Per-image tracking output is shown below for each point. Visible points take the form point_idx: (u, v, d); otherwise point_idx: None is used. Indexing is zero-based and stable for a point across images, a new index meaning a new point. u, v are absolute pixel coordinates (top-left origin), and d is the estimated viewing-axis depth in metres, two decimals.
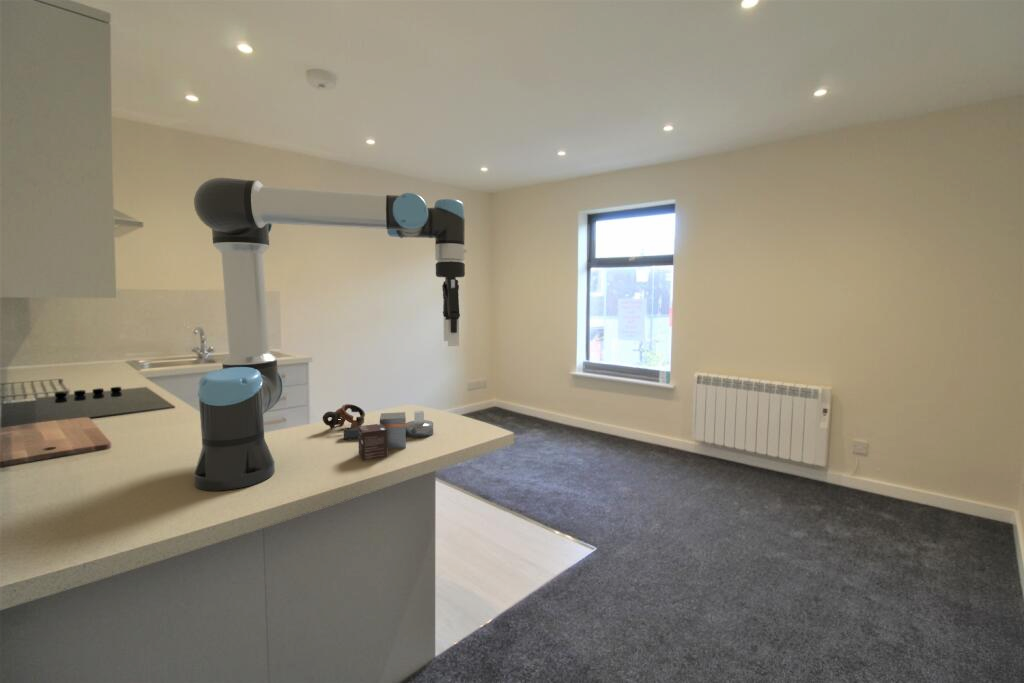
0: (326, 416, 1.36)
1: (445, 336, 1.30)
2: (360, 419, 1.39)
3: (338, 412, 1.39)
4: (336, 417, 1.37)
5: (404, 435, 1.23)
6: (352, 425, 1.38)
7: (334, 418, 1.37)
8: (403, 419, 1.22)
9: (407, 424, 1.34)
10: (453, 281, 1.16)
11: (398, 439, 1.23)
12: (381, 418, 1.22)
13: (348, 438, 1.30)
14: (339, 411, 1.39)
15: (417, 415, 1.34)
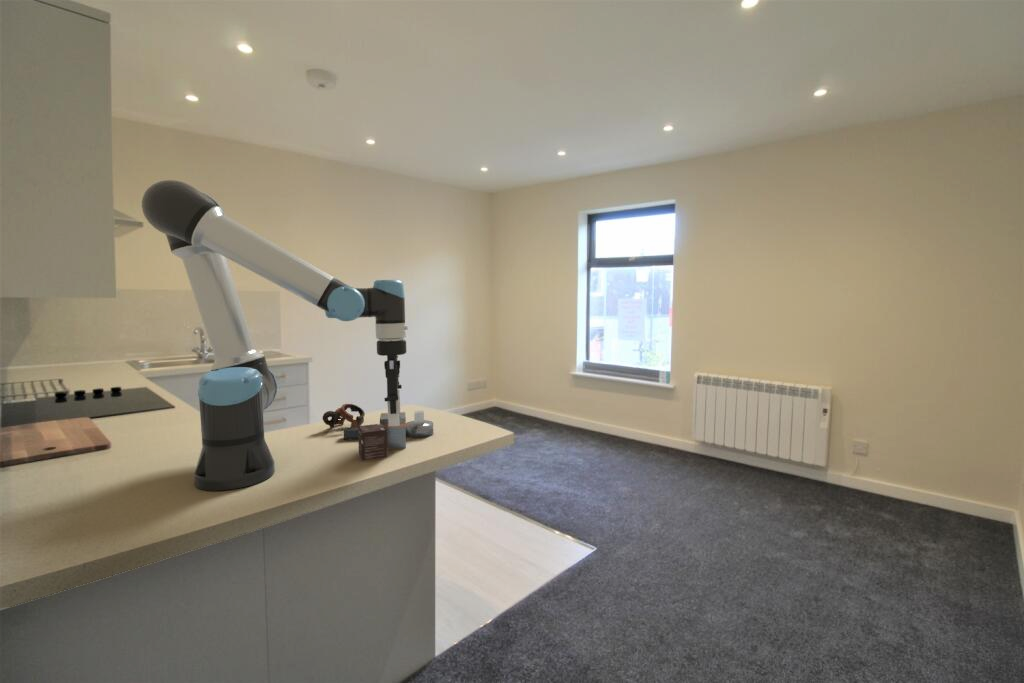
0: (326, 415, 1.37)
1: None
2: (360, 418, 1.40)
3: (338, 411, 1.39)
4: (336, 416, 1.38)
5: (404, 435, 1.23)
6: (352, 424, 1.38)
7: (334, 417, 1.38)
8: (403, 419, 1.22)
9: (407, 424, 1.34)
10: (391, 363, 1.17)
11: (398, 439, 1.23)
12: (381, 418, 1.22)
13: (348, 438, 1.30)
14: (339, 411, 1.39)
15: (417, 415, 1.34)
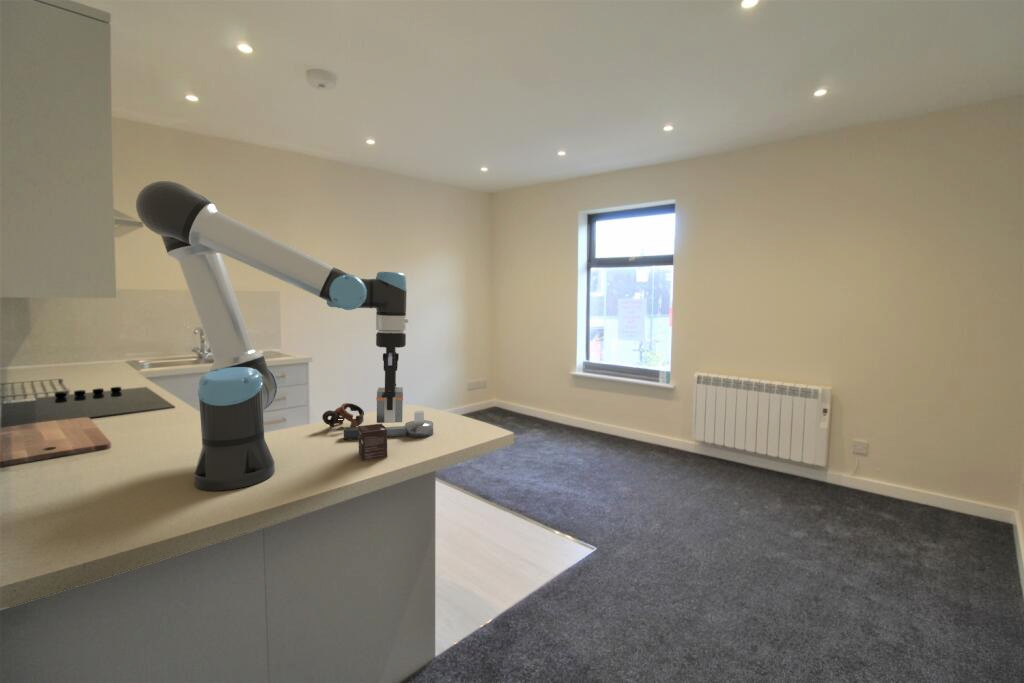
0: (326, 415, 1.38)
1: None
2: (360, 418, 1.41)
3: (338, 411, 1.40)
4: (336, 416, 1.39)
5: (401, 409, 1.22)
6: (352, 424, 1.39)
7: (334, 417, 1.39)
8: (400, 393, 1.22)
9: (407, 424, 1.34)
10: (390, 360, 1.17)
11: (395, 413, 1.22)
12: (378, 391, 1.21)
13: (348, 438, 1.30)
14: (339, 410, 1.40)
15: (417, 415, 1.34)
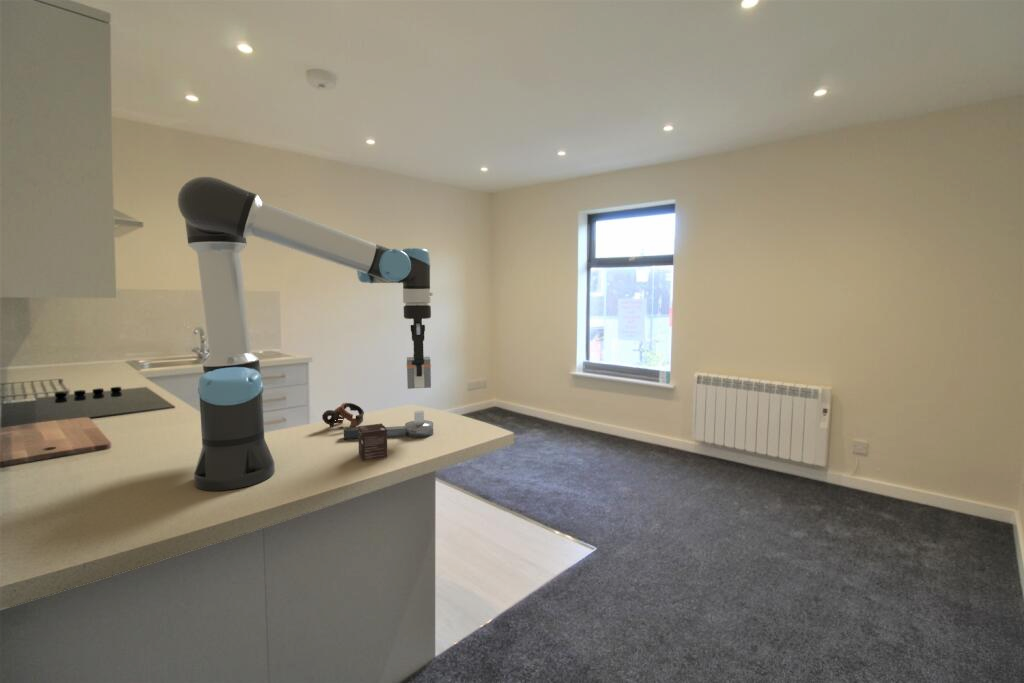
0: (326, 415, 1.38)
1: None
2: (359, 417, 1.41)
3: (337, 411, 1.40)
4: (336, 415, 1.39)
5: (429, 375, 1.32)
6: (352, 423, 1.40)
7: (334, 416, 1.39)
8: (428, 360, 1.31)
9: (407, 424, 1.34)
10: (418, 329, 1.26)
11: (424, 379, 1.32)
12: (408, 359, 1.31)
13: (348, 438, 1.30)
14: (338, 410, 1.41)
15: (417, 415, 1.34)
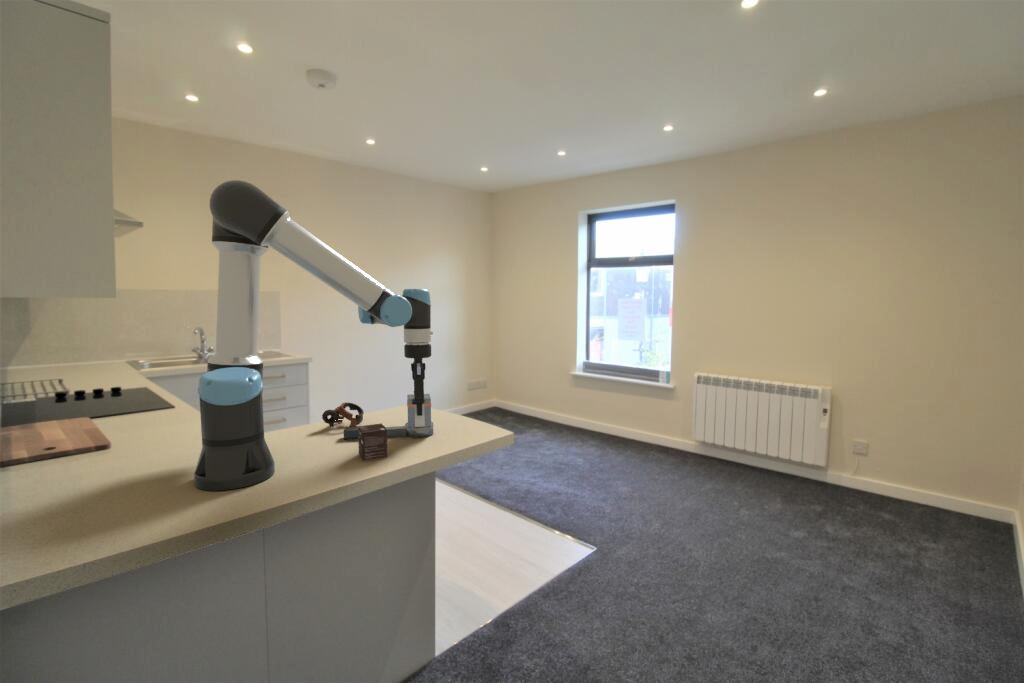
0: (326, 414, 1.39)
1: None
2: (359, 417, 1.42)
3: (337, 410, 1.41)
4: (335, 415, 1.40)
5: (429, 414, 1.33)
6: (351, 423, 1.40)
7: (333, 416, 1.40)
8: (429, 399, 1.32)
9: (407, 424, 1.34)
10: (419, 370, 1.28)
11: None
12: (408, 398, 1.32)
13: (348, 438, 1.30)
14: (338, 409, 1.41)
15: None
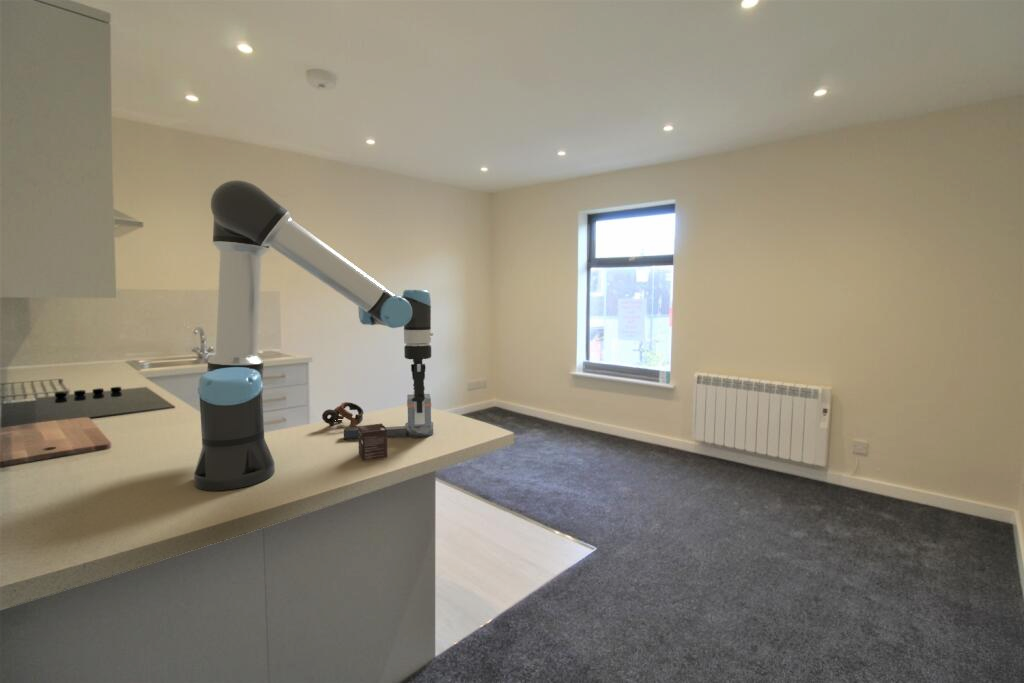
0: (326, 414, 1.39)
1: None
2: (359, 417, 1.42)
3: (337, 410, 1.41)
4: (335, 415, 1.40)
5: (429, 414, 1.33)
6: (351, 422, 1.41)
7: (333, 416, 1.40)
8: (429, 399, 1.32)
9: (407, 424, 1.34)
10: (419, 366, 1.27)
11: None
12: (408, 398, 1.32)
13: (348, 438, 1.30)
14: (338, 409, 1.42)
15: None
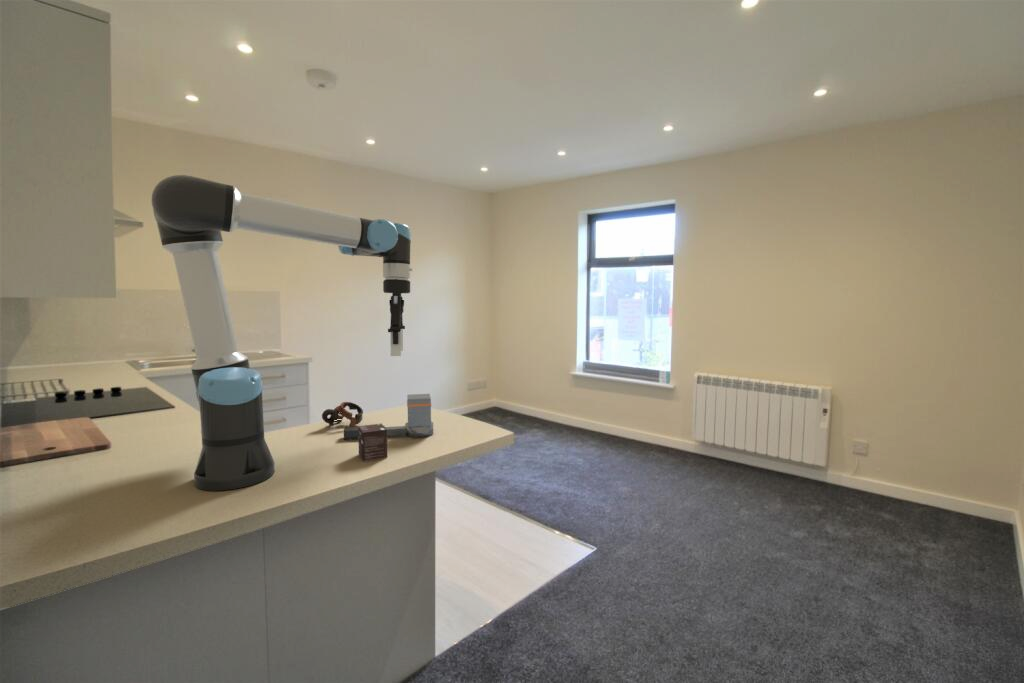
0: (325, 414, 1.39)
1: None
2: (359, 416, 1.43)
3: (337, 410, 1.42)
4: (335, 414, 1.40)
5: (429, 414, 1.33)
6: (351, 422, 1.41)
7: (333, 415, 1.40)
8: (429, 399, 1.32)
9: (407, 424, 1.34)
10: (396, 297, 1.28)
11: (424, 418, 1.33)
12: (408, 398, 1.32)
13: (348, 438, 1.30)
14: (338, 409, 1.42)
15: None
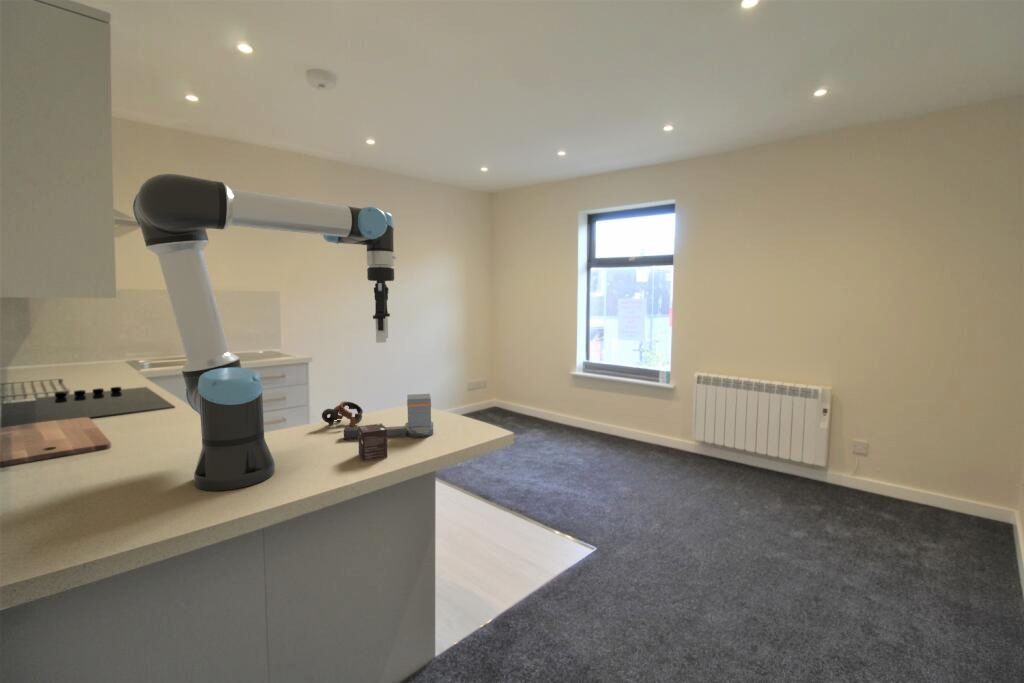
0: (325, 413, 1.40)
1: None
2: (358, 416, 1.43)
3: (337, 409, 1.42)
4: (335, 414, 1.41)
5: (429, 414, 1.33)
6: (351, 422, 1.42)
7: (333, 415, 1.41)
8: (429, 399, 1.32)
9: (407, 424, 1.34)
10: (380, 285, 1.30)
11: (424, 418, 1.33)
12: (408, 398, 1.32)
13: (348, 438, 1.30)
14: (338, 408, 1.43)
15: None
